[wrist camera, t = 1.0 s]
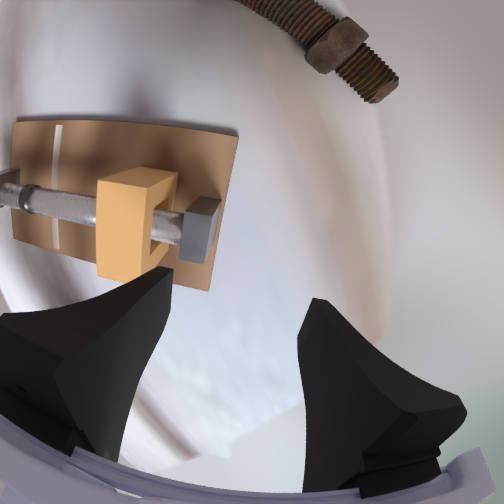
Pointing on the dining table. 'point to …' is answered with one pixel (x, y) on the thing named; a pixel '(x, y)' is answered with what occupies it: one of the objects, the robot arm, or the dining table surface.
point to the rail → (84, 212)
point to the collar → (131, 221)
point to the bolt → (331, 44)
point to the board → (112, 162)
